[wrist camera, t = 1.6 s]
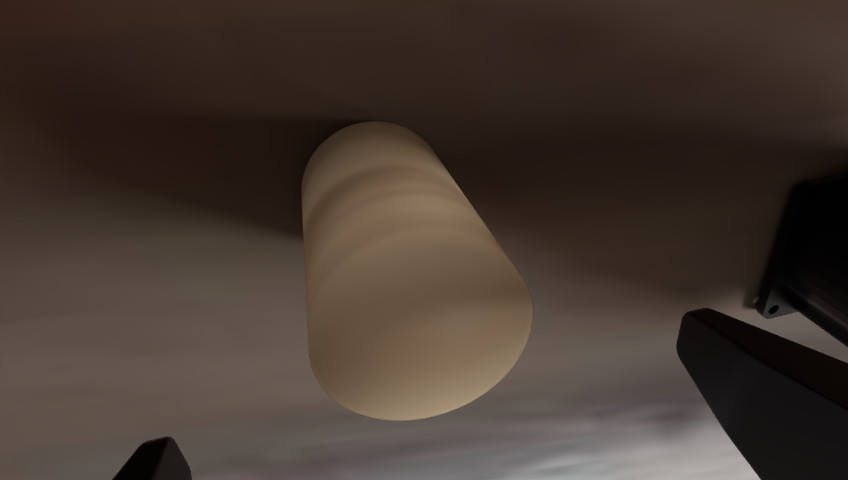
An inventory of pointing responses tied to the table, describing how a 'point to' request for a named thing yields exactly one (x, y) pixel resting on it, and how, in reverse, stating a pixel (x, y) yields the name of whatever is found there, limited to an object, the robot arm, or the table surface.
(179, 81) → the table surface
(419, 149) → the birch peg
